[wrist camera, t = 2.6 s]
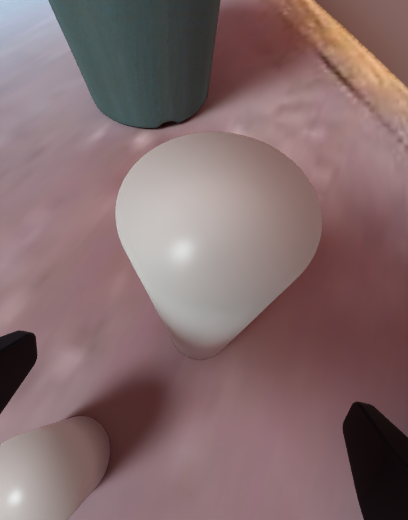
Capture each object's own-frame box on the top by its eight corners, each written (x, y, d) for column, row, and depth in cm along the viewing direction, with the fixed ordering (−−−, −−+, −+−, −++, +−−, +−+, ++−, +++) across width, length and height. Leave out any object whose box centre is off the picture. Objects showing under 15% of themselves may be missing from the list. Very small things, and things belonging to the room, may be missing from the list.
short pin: (68, 523, 13) (5, 597, 9) (21, 464, 14) (-58, 503, 10) (124, 450, 15) (95, 481, 10) (78, 400, 16) (32, 409, 11)
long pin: (204, 373, 17) (243, 357, 4) (158, 332, 18) (70, 213, 5) (240, 324, 18) (356, 195, 5) (196, 289, 19) (204, 107, 6)
